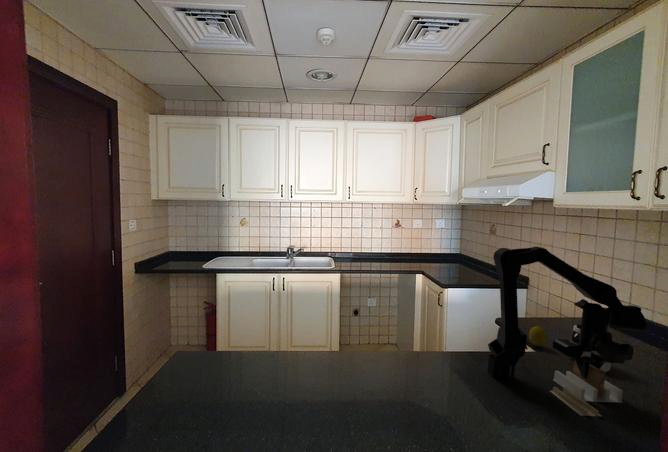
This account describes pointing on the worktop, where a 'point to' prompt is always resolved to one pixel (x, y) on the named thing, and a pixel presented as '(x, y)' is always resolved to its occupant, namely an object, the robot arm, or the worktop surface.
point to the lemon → (537, 336)
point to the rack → (588, 388)
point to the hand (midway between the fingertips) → (587, 377)
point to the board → (592, 377)
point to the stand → (575, 402)
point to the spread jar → (576, 334)
